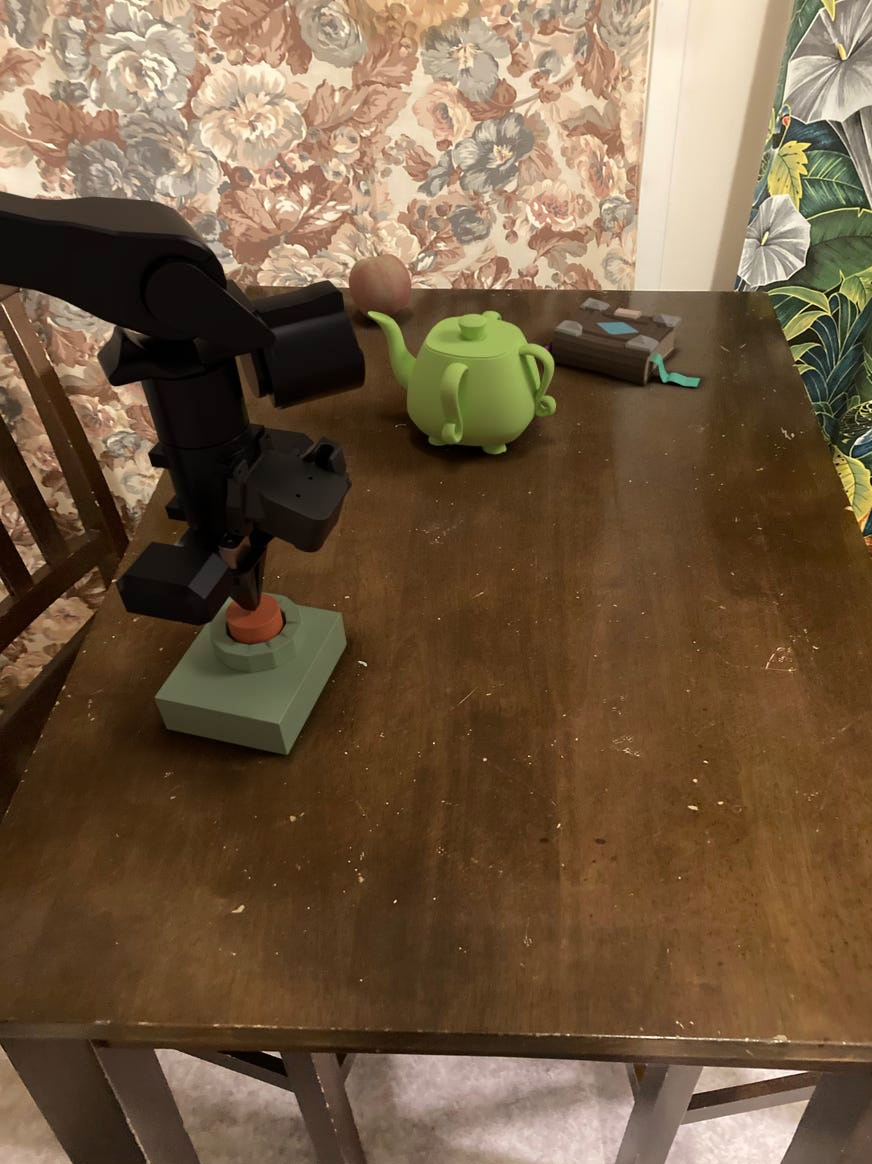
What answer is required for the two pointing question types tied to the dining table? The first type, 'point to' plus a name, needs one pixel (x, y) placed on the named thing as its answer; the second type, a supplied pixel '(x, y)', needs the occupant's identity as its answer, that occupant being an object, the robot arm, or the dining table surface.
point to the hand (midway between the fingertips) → (251, 607)
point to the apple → (380, 285)
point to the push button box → (254, 679)
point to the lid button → (255, 621)
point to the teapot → (471, 380)
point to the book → (617, 343)
